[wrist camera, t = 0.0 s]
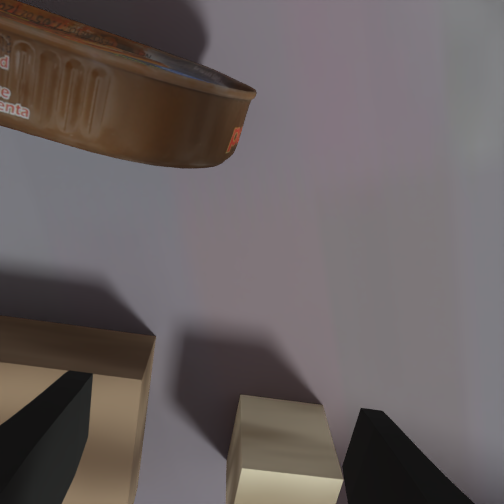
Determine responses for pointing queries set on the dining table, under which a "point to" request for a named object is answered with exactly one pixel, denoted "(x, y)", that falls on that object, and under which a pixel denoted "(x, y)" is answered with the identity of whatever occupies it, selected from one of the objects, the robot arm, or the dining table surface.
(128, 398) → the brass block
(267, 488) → the birch cube
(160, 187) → the dining table surface
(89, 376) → the robot arm
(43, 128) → the tin
